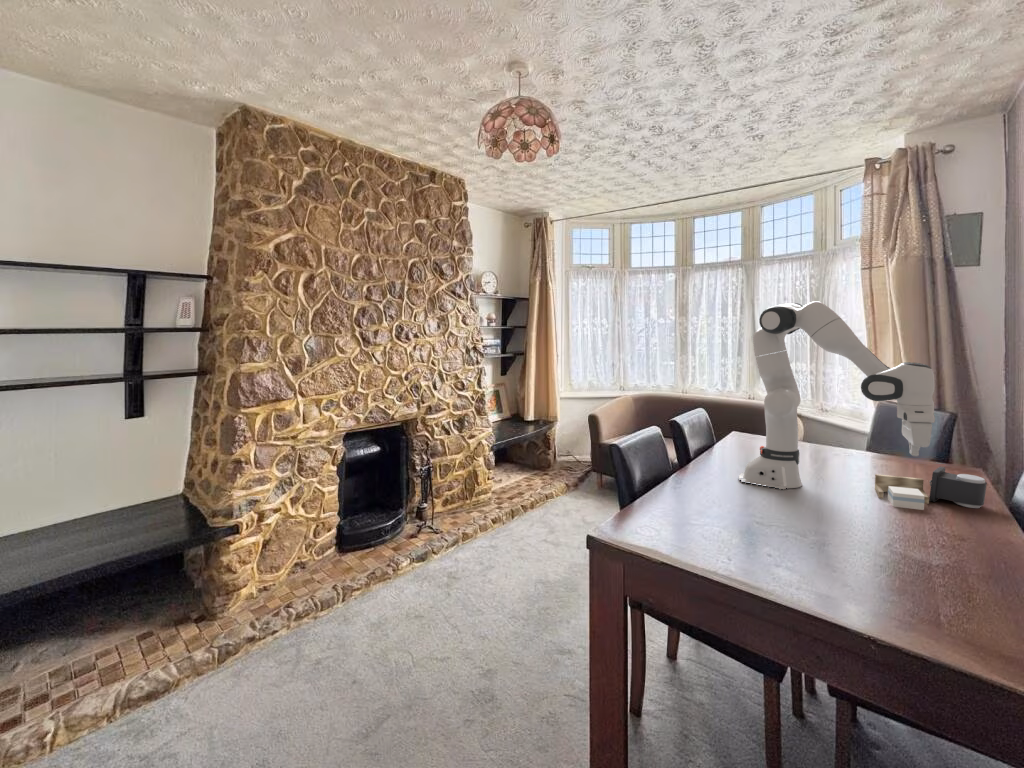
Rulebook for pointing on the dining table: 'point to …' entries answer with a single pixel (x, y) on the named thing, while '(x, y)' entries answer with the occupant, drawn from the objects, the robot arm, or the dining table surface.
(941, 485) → the light fixture
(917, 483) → the stand
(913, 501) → the carton
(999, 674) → the dining table surface
